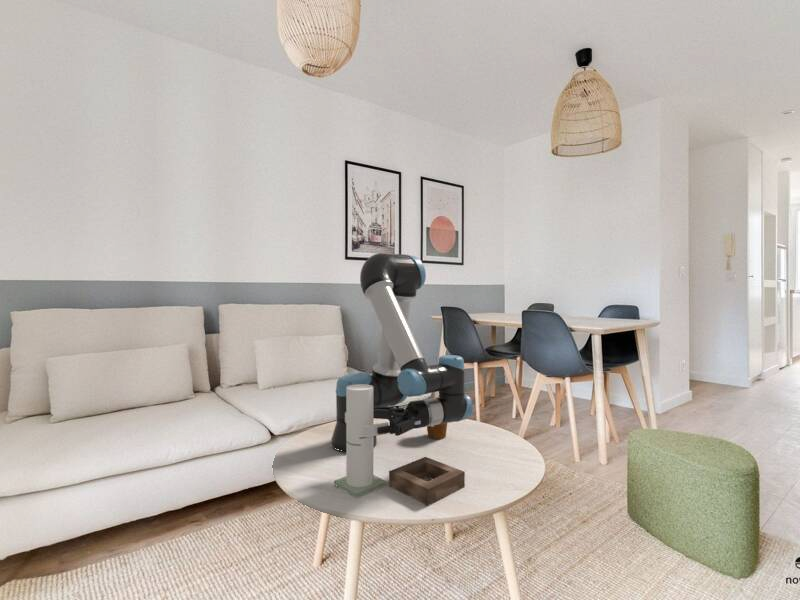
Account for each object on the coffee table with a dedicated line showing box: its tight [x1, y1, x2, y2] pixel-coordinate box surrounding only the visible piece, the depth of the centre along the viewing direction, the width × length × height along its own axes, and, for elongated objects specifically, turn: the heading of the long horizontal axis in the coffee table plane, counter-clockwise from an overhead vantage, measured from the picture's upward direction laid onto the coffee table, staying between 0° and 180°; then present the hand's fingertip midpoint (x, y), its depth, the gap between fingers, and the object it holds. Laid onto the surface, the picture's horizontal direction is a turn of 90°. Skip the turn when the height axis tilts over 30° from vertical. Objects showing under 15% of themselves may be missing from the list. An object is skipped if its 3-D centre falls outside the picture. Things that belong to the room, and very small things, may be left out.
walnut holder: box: [388, 456, 466, 506], centre depth 110 cm, size 14×14×4 cm
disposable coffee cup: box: [426, 423, 448, 440], centre depth 149 cm, size 10×10×12 cm
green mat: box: [333, 474, 387, 498], centre depth 112 cm, size 10×10×1 cm
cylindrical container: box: [345, 384, 374, 487], centre depth 111 cm, size 7×7×25 cm
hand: (354, 424), depth 110 cm, fingers open, 13 cm apart
